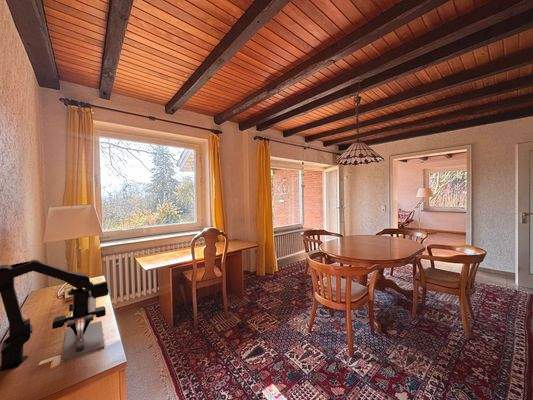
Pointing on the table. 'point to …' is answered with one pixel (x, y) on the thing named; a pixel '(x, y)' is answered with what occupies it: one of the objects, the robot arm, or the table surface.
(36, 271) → the robot arm
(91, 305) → the jar
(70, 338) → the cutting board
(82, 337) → the tongs moving arm
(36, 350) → the table surface
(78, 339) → the tongs fixed arm
